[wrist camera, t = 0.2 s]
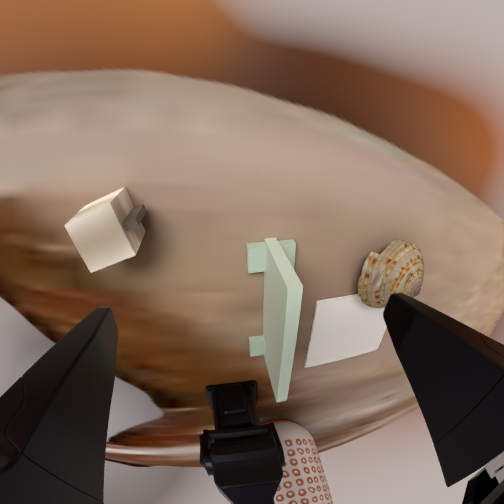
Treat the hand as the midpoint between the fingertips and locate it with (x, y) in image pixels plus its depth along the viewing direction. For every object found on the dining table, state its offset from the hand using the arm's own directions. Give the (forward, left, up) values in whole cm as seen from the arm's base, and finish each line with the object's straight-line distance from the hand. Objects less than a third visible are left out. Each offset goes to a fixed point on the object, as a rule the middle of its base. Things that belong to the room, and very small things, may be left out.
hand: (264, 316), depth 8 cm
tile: (-18, -14, -14) cm, 27 cm away
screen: (-12, -4, -14) cm, 19 cm away
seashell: (-7, -13, -14) cm, 21 cm away
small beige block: (-2, +9, -14) cm, 17 cm away
